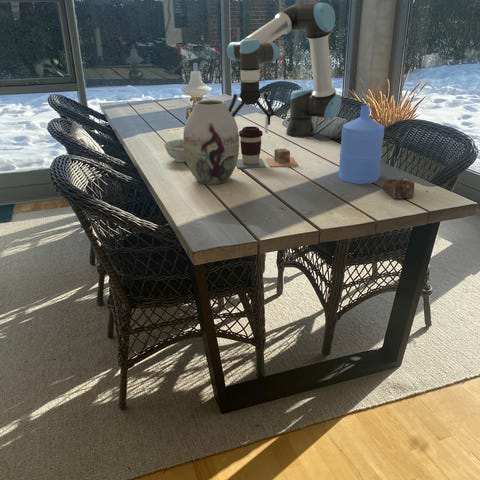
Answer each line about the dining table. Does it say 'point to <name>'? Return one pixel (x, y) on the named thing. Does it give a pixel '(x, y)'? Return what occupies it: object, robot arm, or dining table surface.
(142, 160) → the dining table surface
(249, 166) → the slate tile
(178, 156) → the bowl
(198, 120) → the vase
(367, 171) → the water jug
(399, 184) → the rock
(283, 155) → the walnut block
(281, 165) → the terracotta tile
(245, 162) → the coffee cup
